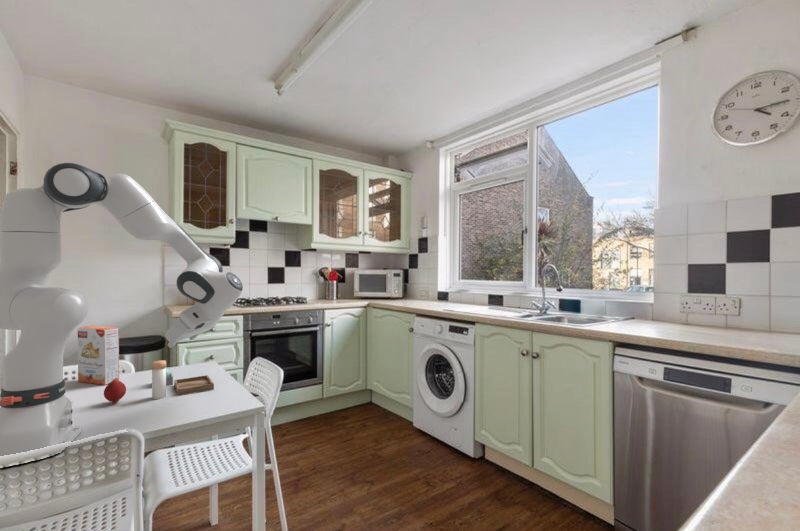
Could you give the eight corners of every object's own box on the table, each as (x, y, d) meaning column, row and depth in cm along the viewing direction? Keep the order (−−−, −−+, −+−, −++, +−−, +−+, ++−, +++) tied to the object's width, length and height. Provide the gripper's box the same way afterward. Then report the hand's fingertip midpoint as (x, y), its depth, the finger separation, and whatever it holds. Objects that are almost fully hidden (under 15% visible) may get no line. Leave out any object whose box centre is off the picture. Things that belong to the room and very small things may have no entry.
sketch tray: (213, 389, 138) (213, 383, 138) (177, 395, 132) (177, 389, 132) (207, 380, 149) (207, 375, 149) (174, 385, 142) (174, 380, 142)
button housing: (172, 384, 143) (172, 376, 143) (153, 387, 140) (153, 379, 140) (171, 380, 148) (171, 372, 148) (152, 383, 145) (152, 375, 145)
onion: (114, 406, 121) (114, 381, 121) (99, 405, 122) (99, 380, 122) (130, 400, 127) (130, 376, 127) (115, 399, 128) (115, 375, 128)
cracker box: (76, 382, 146) (76, 327, 146) (93, 377, 152) (93, 324, 151) (103, 386, 142) (103, 329, 142) (119, 381, 147) (119, 326, 147)
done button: (170, 380, 144) (170, 369, 144) (156, 382, 141) (156, 371, 141) (169, 377, 147) (169, 366, 147) (155, 379, 145) (155, 368, 145)
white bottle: (166, 397, 129) (166, 362, 129) (151, 400, 127) (151, 364, 127) (165, 394, 133) (165, 359, 133) (151, 396, 130) (151, 361, 130)
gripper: (219, 301, 137) (196, 327, 139) (176, 313, 117) (150, 343, 119) (231, 314, 136) (207, 340, 139) (190, 328, 116) (164, 358, 119)
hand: (181, 342), depth 129 cm, fingers open, 8 cm apart
